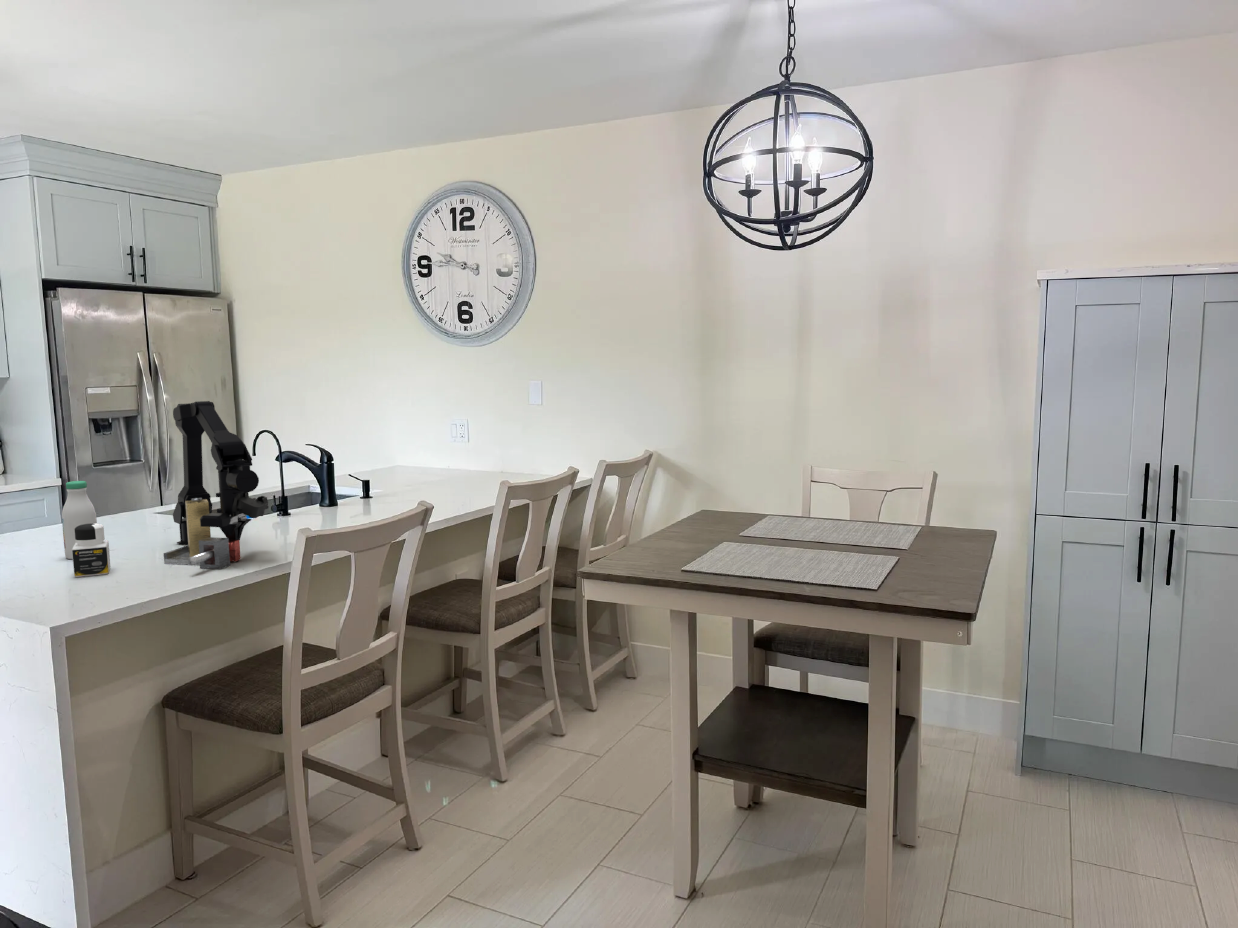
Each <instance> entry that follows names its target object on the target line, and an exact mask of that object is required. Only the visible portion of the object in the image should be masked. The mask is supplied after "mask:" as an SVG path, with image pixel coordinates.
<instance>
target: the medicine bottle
mask: <svg viewBox="0 0 1238 928" xmlns="http://www.w3.org/2000/svg"><path fill="white" fill-rule="evenodd" d="M104 529H105V528H104V525H103V524H101V523H98V522H97V523H90V524H83V525H79V526H77V527H76V528H75V529H74V530H75V541H76V543H75V545H74V547H73V549H72V555H73V559H72V565H73V566H72V567H73V576H74V578H81V577H82V578H85V577H92V576H103V575H108V574H109V573H110V571H111V570H110V569H111V556H110V543H109V540H107V539H105V530H104Z"/></svg>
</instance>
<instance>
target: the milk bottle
mask: <svg viewBox="0 0 1238 928" xmlns="http://www.w3.org/2000/svg"><path fill="white" fill-rule="evenodd" d="M87 487H88V483H87V480H86V481H85V480H73V481H68V482H66V483H65V488H66V492H67V497H66V500H65V503H64V505H63V508H62V512H61V521H62V522H61V523H62V535H63V545H64V555H65V558H66V559H68V560H73V555H72V549H73V547H74V545H75V543H76V541H75V530H74V529H75V528H76V527H77V526H79V525H83V524H90V523H98V520H97V513H96V509H95V506H94V505H93V502H92V501H91V500H90V497H89V496H88V493H87V490H88V488H87Z"/></svg>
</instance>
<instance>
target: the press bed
mask: <svg viewBox="0 0 1238 928" xmlns="http://www.w3.org/2000/svg"><path fill="white" fill-rule="evenodd" d="M189 558H190V555H189V547H188V544H186V545H185V546H181V547H178V548H175V549H173V550H168V551H166V552H163V563H164V564H167V565H183V564H188V565H189V566H191V565H190V564H189V563H188V559H189ZM194 566H200V563H197V564H195V565H194Z"/></svg>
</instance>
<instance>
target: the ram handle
mask: <svg viewBox="0 0 1238 928" xmlns="http://www.w3.org/2000/svg"><path fill="white" fill-rule="evenodd" d="M228 541H229V557H230V562H238V561H241V560H242V559H241V558H242V557H241V545H240V542H241V541H239V540H229V539H228ZM214 557H215V554H214V549H213V550H210V551H207V552H204V553H201V554H198V555H195V556H192V557H190V558H189V559H188V563H189V564H190V565H189V566H196V565H195V564H197V563H200V562H203V561H206V560H208V559H211V558H214Z"/></svg>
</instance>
